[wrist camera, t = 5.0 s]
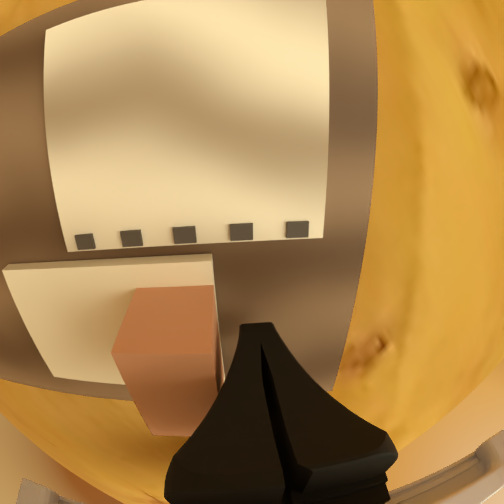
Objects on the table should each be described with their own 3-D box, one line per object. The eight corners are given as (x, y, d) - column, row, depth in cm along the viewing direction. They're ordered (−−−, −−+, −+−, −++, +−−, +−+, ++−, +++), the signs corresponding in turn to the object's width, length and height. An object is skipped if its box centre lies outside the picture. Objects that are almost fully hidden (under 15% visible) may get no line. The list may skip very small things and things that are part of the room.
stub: (224, 376, 14) (227, 445, 10) (57, 369, 13) (34, 423, 10) (211, 253, 11) (207, 326, 7) (8, 264, 10) (-40, 314, 7)
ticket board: (327, 376, 17) (334, 395, 15) (3, 366, 15) (-5, 381, 14) (359, -2, 8) (376, -13, 6) (-75, 101, 6) (-92, 105, 5)
